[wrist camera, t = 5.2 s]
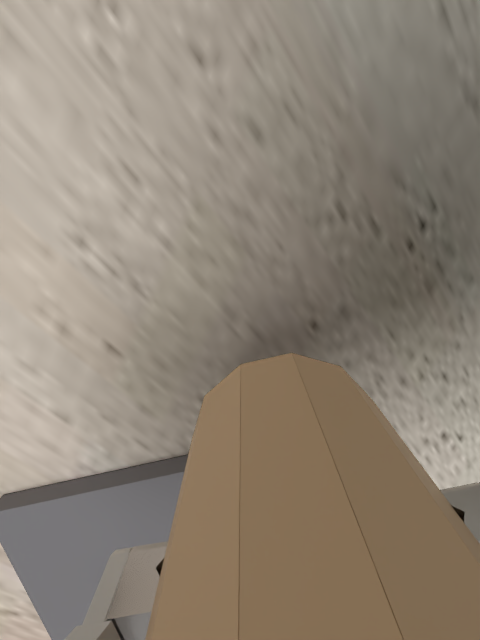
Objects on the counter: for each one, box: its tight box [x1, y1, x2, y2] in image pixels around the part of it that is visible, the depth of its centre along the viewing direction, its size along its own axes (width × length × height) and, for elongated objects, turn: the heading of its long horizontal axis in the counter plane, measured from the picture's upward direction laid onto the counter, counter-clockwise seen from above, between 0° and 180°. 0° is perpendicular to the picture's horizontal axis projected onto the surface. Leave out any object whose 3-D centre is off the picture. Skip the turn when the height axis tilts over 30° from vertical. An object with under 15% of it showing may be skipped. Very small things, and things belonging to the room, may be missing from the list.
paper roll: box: [145, 353, 480, 640], centre depth 8 cm, size 6×6×8 cm
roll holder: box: [0, 455, 188, 640], centre depth 18 cm, size 14×14×8 cm
